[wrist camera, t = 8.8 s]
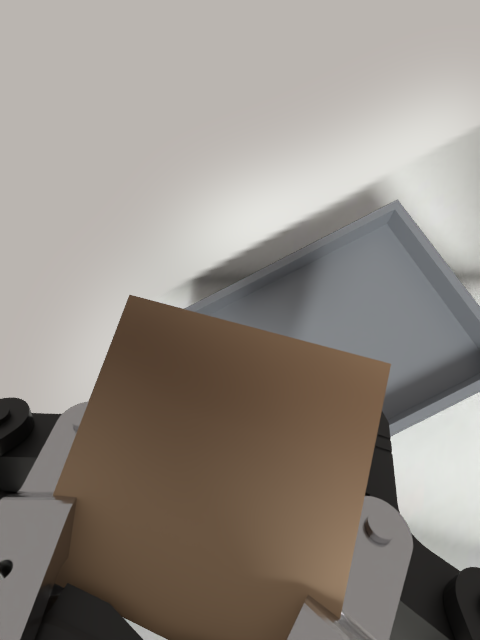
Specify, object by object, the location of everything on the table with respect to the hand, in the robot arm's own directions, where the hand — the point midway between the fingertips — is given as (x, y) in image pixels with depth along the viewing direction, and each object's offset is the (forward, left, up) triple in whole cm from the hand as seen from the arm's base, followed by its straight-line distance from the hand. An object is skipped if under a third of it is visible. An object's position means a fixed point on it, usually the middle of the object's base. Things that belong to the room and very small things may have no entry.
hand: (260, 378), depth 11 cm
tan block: (0, +2, -5) cm, 5 cm away
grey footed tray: (-2, -4, -18) cm, 19 cm away
